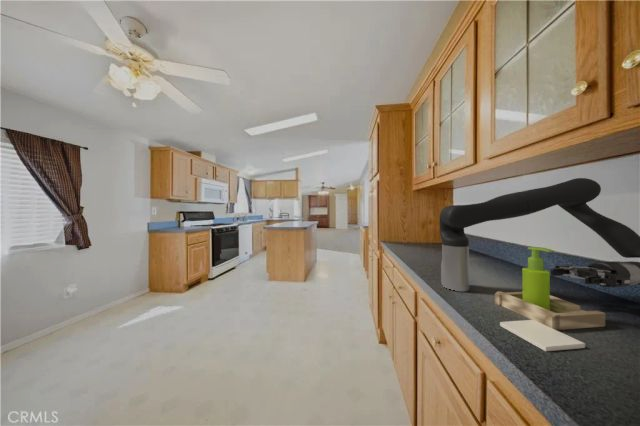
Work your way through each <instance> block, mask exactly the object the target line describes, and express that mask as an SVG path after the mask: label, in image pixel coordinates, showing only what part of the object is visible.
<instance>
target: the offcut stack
mask: <svg viewBox="0 0 640 426" xmlns="http://www.w3.org/2000/svg"><path fill="white" fill-rule="evenodd" d="M550 311H552V312H555V313H568V312H583V311H585V310H584V309H581V305H578V304H576V303H573V302H570V301H567V300H564V299H562V298H559V297H557V296H553V295H551V294H550Z"/></svg>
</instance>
